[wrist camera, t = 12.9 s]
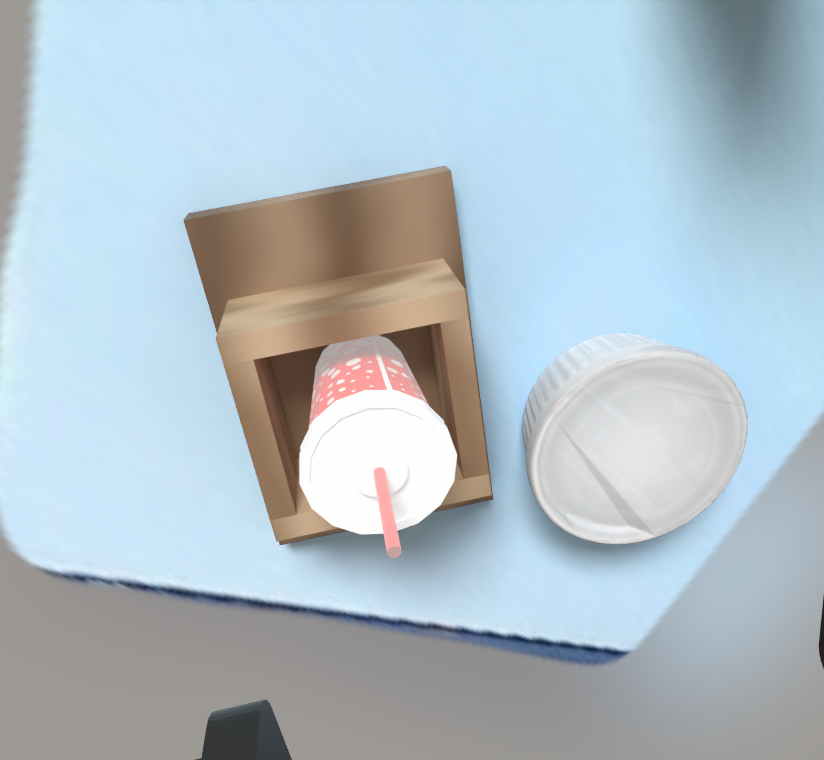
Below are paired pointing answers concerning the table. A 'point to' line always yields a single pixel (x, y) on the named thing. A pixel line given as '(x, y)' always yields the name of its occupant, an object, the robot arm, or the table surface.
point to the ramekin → (631, 437)
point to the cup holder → (340, 317)
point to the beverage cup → (373, 443)
